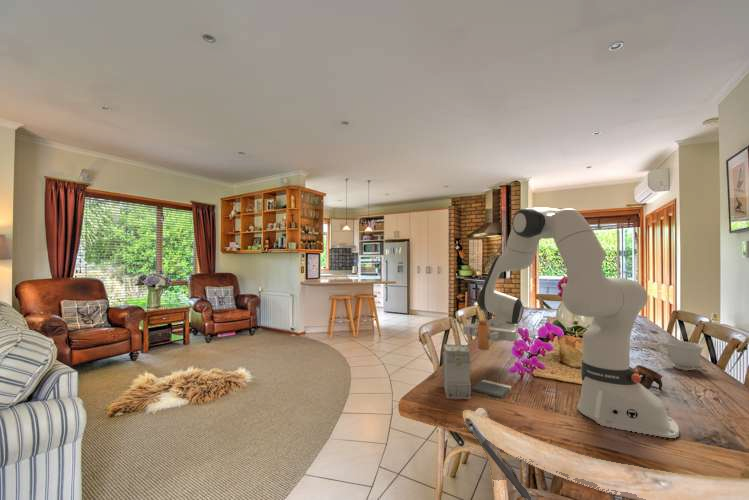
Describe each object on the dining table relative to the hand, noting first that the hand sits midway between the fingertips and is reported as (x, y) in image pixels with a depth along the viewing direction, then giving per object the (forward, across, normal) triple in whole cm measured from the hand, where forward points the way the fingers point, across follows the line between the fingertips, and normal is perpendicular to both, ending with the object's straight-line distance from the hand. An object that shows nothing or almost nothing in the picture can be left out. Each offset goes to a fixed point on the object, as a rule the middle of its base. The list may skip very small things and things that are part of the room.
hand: (482, 335), depth 123 cm
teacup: (-65, +57, +17) cm, 88 cm away
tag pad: (+7, +6, +16) cm, 19 cm away
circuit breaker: (+15, -4, +16) cm, 23 cm away
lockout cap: (-1, 0, +5) cm, 5 cm away
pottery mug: (-28, +46, +17) cm, 57 cm away
